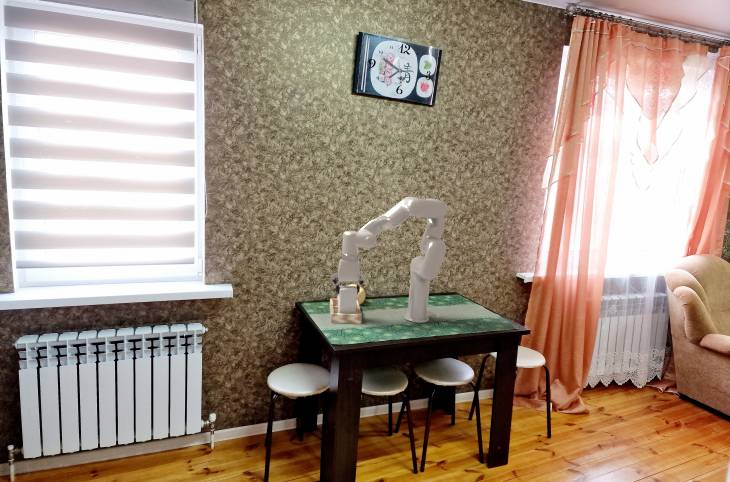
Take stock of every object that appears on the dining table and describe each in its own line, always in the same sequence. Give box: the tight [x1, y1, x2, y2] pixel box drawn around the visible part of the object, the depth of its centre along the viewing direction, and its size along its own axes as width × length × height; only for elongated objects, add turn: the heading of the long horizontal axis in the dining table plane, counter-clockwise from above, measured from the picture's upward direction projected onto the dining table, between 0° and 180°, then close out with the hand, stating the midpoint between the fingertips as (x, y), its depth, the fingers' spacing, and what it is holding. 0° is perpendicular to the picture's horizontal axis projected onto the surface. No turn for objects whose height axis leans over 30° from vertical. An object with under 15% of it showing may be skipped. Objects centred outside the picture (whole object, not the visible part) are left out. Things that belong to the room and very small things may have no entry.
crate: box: [329, 297, 363, 325], centre depth 230 cm, size 14×24×5 cm, turn 6°
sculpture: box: [347, 283, 366, 306], centre depth 249 cm, size 11×12×11 cm
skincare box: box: [337, 284, 357, 314], centre depth 223 cm, size 8×6×15 cm
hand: (347, 293), depth 222 cm, fingers closed on skincare box, 8 cm apart
